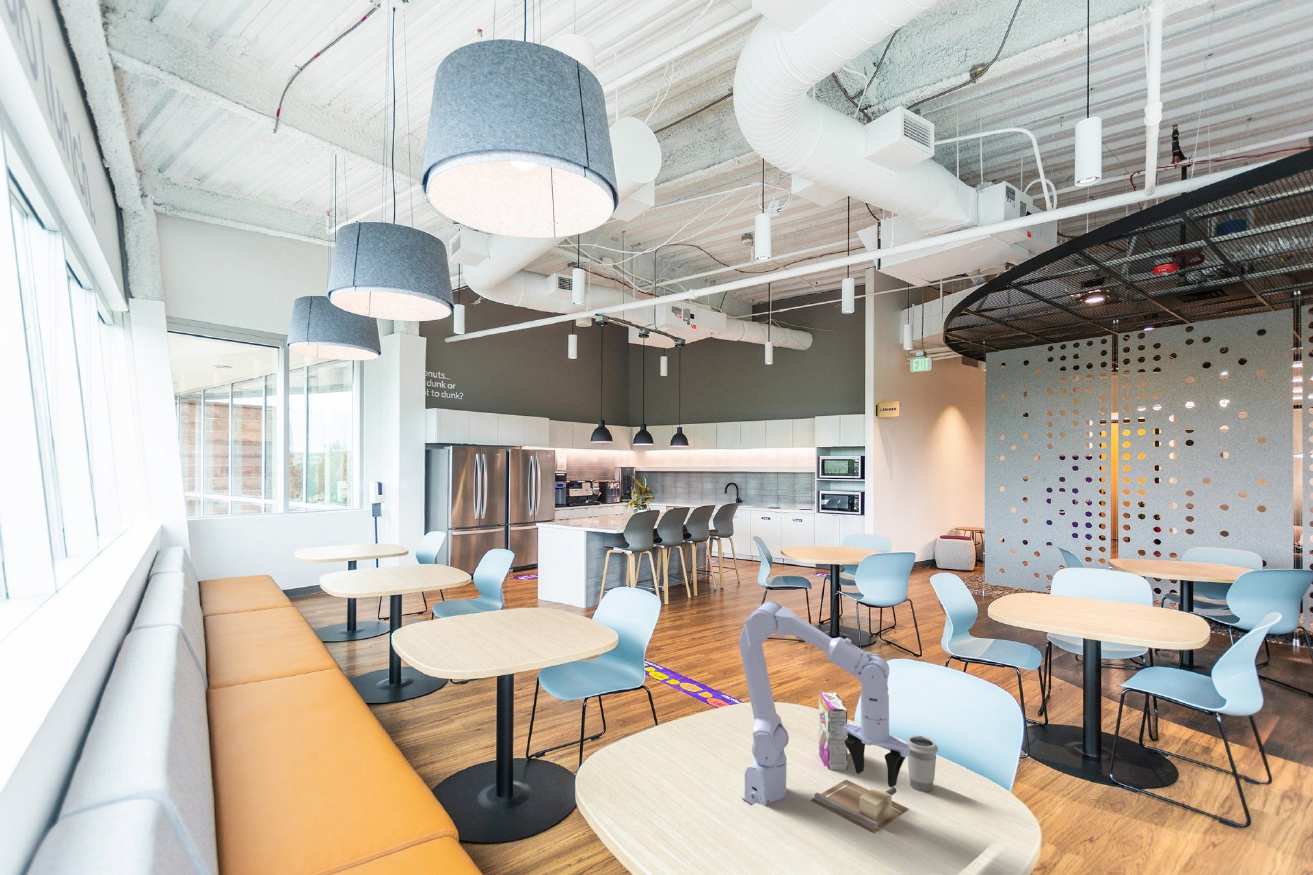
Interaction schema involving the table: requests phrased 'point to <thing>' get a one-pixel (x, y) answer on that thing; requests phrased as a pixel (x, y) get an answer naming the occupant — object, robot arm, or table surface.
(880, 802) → the block
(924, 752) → the cup
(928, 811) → the table surface
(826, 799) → the walnut board
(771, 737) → the robot arm
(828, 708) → the candy bar box
